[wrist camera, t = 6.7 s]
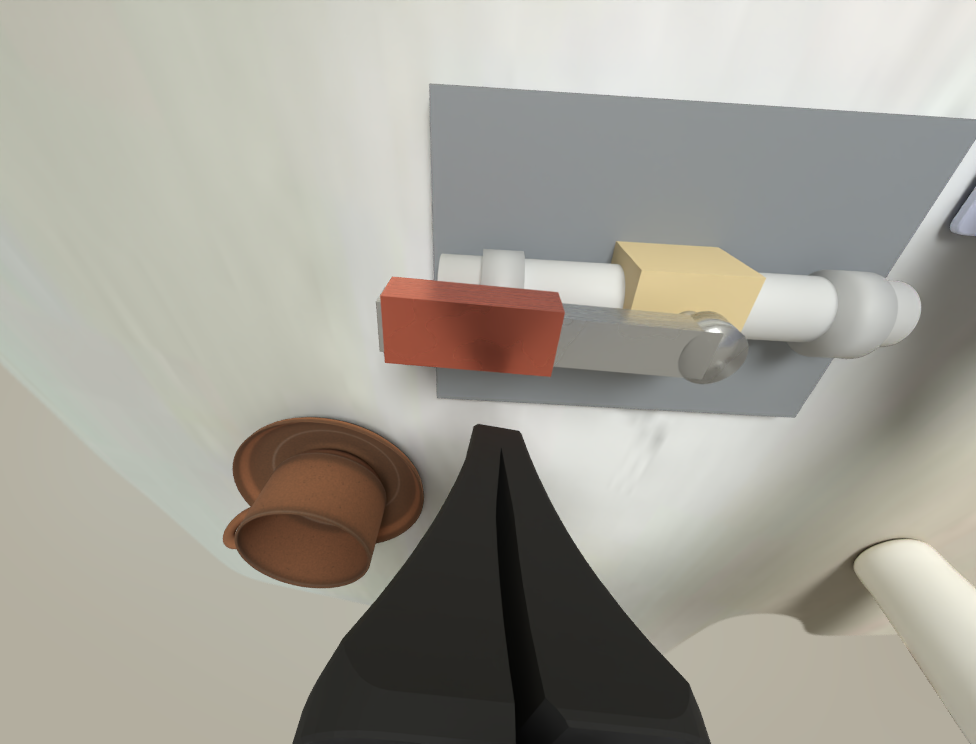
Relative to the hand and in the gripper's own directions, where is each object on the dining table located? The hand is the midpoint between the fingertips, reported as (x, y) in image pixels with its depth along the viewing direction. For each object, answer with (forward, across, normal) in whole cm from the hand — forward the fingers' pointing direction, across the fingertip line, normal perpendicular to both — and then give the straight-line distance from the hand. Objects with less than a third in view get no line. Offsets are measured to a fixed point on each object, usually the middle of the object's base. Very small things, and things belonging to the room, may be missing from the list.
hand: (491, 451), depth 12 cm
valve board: (+10, -7, -3) cm, 12 cm away
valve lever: (+4, -2, -3) cm, 5 cm away
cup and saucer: (+10, +8, +14) cm, 19 cm away
